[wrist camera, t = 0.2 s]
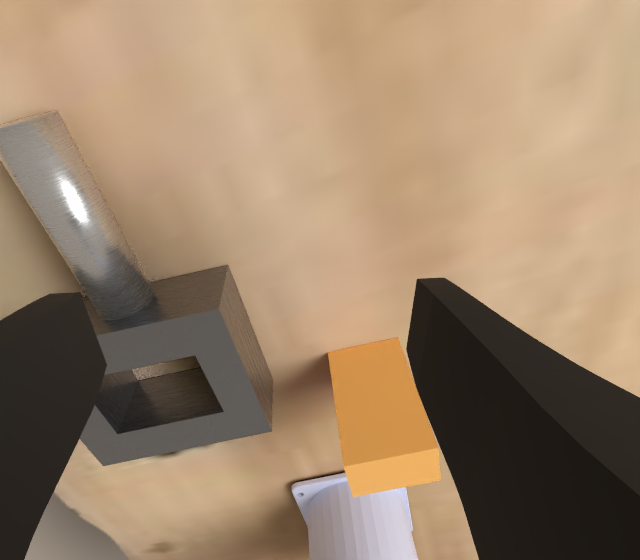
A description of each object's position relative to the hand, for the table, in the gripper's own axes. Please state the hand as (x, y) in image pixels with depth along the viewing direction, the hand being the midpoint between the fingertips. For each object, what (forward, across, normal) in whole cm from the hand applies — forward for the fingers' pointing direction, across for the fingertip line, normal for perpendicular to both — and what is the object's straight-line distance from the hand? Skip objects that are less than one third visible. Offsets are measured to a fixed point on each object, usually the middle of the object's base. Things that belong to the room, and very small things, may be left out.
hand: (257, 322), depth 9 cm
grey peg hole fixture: (+10, +7, +5) cm, 13 cm away
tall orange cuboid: (+10, -5, +11) cm, 15 cm away
